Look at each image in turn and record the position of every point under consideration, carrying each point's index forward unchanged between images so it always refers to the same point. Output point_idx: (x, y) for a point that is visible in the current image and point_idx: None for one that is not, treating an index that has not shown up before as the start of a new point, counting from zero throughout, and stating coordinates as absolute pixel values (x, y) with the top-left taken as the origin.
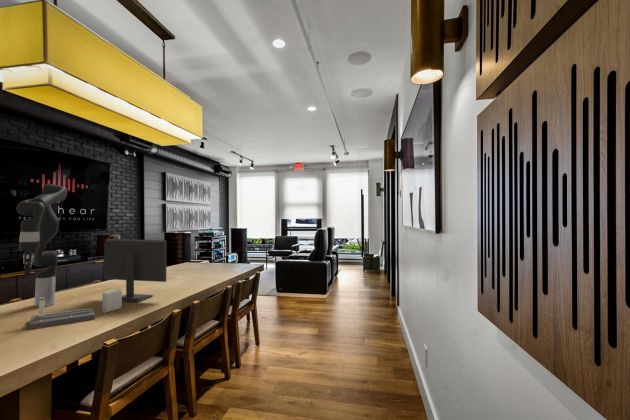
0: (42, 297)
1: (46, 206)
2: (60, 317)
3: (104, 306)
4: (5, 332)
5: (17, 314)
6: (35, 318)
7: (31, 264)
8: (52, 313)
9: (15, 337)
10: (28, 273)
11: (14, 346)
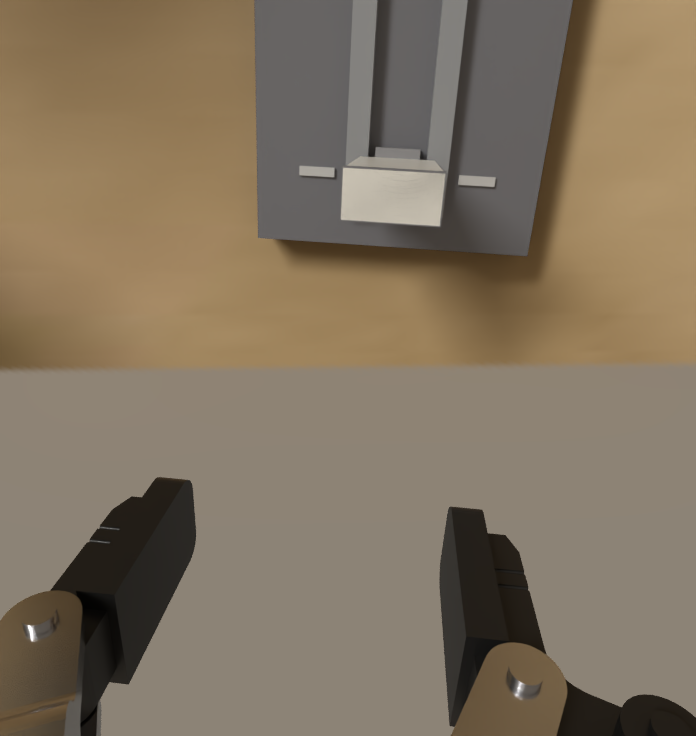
0: (358, 193)
1: None
2: (487, 22)
3: None
4: (484, 365)
5: (24, 309)
6: None
7: (79, 626)
8: (352, 87)
9: (664, 318)
10: (509, 550)
11: None
